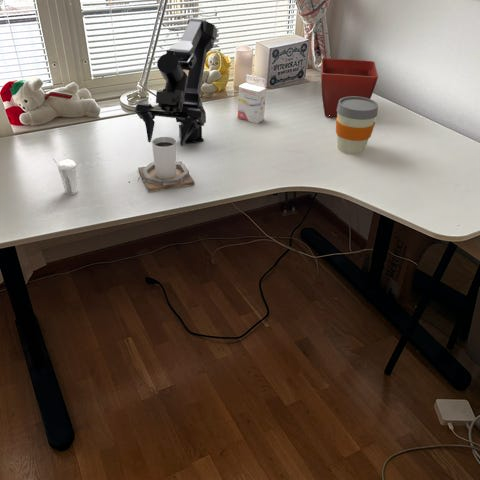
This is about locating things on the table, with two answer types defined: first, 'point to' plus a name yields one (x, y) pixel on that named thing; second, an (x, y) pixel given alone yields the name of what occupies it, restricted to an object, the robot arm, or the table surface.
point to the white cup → (164, 157)
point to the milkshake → (68, 176)
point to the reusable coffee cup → (355, 123)
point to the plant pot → (346, 81)
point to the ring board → (161, 184)
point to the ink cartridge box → (252, 99)
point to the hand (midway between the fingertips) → (165, 143)
